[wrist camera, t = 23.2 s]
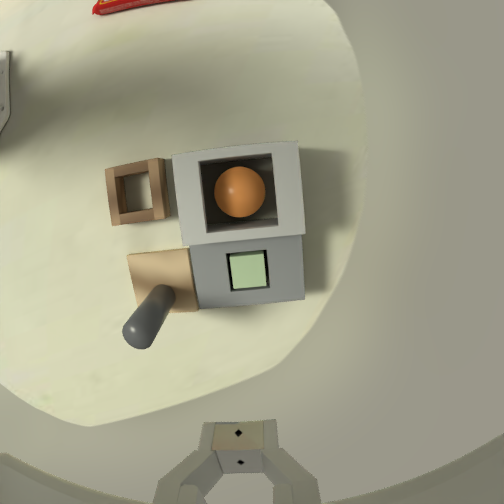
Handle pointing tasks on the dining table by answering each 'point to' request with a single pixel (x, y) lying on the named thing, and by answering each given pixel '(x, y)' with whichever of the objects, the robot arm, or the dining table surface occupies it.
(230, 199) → the plunger
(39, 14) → the dining table surface
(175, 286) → the pad
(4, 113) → the robot arm
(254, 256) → the on button
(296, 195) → the grey boxy piece
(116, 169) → the stand
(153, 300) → the grey rounded rod
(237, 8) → the dining table surface
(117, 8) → the candy bar
